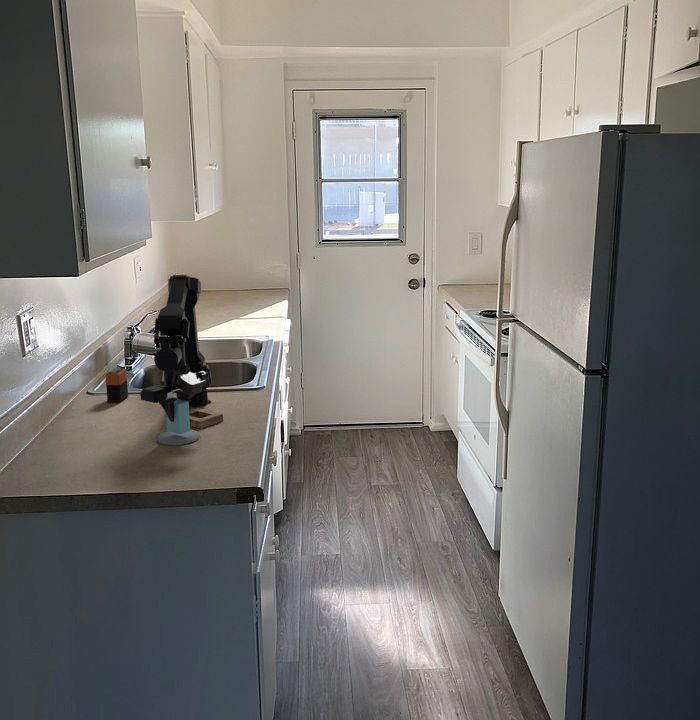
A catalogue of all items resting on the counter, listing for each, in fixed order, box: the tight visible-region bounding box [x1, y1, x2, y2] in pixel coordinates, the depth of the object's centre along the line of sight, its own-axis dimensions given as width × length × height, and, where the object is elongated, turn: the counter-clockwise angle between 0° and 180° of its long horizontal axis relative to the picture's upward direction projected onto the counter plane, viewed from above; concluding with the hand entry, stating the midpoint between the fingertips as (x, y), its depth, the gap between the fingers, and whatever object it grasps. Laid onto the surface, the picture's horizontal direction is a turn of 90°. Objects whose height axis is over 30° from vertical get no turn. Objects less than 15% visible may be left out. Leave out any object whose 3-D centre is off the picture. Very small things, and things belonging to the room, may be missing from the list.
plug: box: [165, 399, 191, 434], centre depth 196 cm, size 5×4×8 cm
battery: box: [104, 366, 129, 404], centre depth 232 cm, size 4×7×10 cm, turn 176°
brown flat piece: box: [189, 407, 224, 429], centre depth 211 cm, size 10×8×2 cm
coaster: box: [156, 429, 201, 446], centre depth 198 cm, size 11×11×1 cm
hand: (177, 419), depth 197 cm, fingers closed on plug, 3 cm apart
